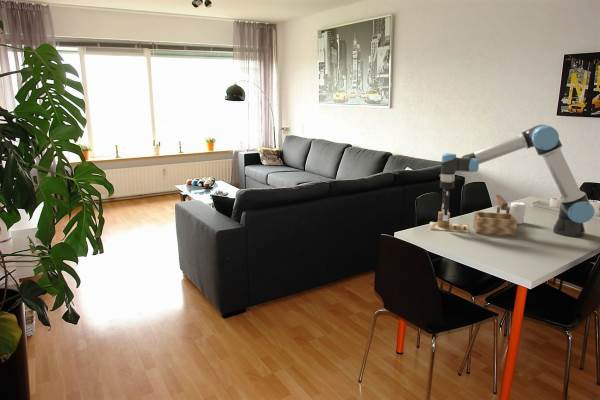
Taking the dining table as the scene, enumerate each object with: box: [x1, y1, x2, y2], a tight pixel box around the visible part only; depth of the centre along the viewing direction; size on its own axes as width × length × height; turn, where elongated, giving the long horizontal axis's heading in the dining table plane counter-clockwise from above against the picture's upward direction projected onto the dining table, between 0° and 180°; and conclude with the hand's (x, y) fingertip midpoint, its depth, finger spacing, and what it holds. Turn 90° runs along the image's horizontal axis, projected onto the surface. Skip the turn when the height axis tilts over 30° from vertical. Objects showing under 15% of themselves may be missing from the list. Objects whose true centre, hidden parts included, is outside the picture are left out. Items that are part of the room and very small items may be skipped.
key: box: [494, 194, 509, 211], centre depth 263 cm, size 3×24×4 cm, turn 165°
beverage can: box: [509, 201, 526, 225], centre depth 264 cm, size 8×8×12 cm
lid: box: [429, 211, 470, 234], centre depth 253 cm, size 21×14×9 cm
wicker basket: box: [472, 205, 518, 237], centre depth 250 cm, size 20×20×12 cm
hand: (444, 217), depth 253 cm, fingers open, 13 cm apart
